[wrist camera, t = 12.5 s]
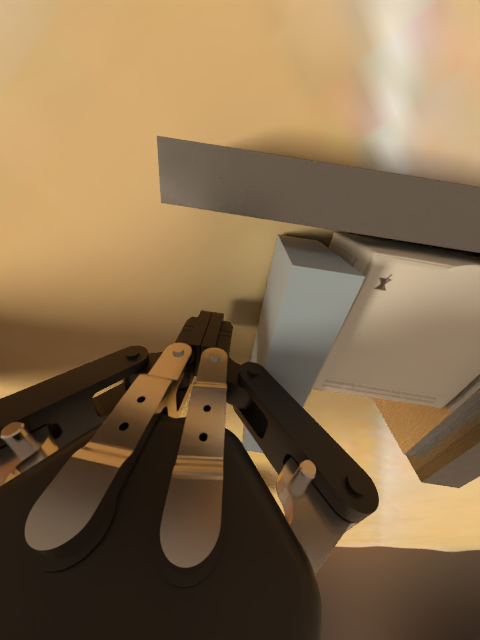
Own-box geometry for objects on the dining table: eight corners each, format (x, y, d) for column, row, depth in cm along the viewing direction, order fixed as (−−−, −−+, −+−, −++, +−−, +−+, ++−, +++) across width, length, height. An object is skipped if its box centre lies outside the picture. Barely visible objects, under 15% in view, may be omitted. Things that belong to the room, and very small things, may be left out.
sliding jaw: (246, 377, 18) (242, 449, 13) (277, 234, 12) (292, 265, 7) (280, 382, 18) (288, 456, 13) (329, 242, 12) (383, 279, 7)
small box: (293, 336, 16) (307, 391, 11) (332, 228, 12) (376, 248, 7) (392, 353, 16) (442, 413, 12) (465, 250, 12) (588, 284, 7)
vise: (189, 366, 18) (159, 442, 13) (190, 154, 10) (109, 108, 5) (398, 398, 18) (459, 488, 13) (557, 213, 10) (902, 234, 5)
